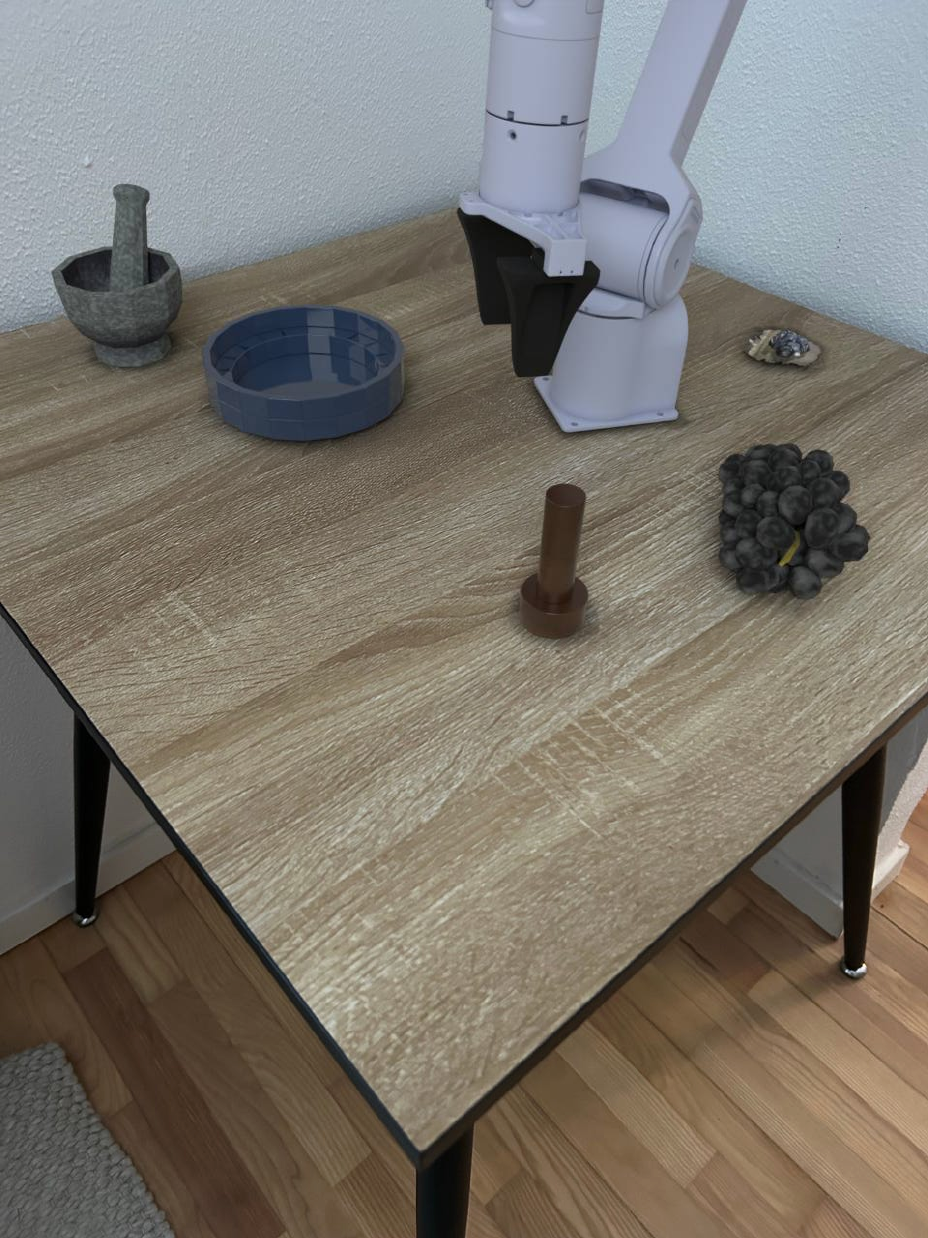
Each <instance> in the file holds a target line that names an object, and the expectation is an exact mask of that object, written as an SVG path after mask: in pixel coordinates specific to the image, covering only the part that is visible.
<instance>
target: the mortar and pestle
mask: <svg viewBox="0 0 928 1238" xmlns="http://www.w3.org/2000/svg"><path fill="white" fill-rule="evenodd" d="M112 191H113V192H112V195H113V198H114V199H115V210H114V211H115V213H114V225H113V234H112V235H113V237H112V246H111V245H110V246H101V247H98V248H97V247H96V248H94V249H90V250H87V251H83V252H80V253H76V254H73V255H69V256H67V258H65V260H63V261H62V262H61V263H60V264H58V265H57V266H56V267H55V268H54V269H53V270H52V271H51V276H52V280H53V284H54V288H55V290H56V293H57V295H58V297H59V301H60V302H61V304H62V307H63V309H64V311H65V314H66V316H67V318H68V320H69V322H70V323H71V324H72V325H73V327H75V329H76V330H77V331H78V332H79V333H80V334H81V335H82V336H84V337H86V338H87V339H90V340H91V341H92V343H93V348H94V349H93V350H94V352H95V355H96V357H97V359H98V361H99V362H100V363H104V364H106V365H108V366H109V365H110V366H113V367H115V368H133V367H144V366H147V365H149V364H153V363H154V362H157V361H160V360H163V359H164V358H165V357H166V355H167V354H168V353H169V352H170V350H172V343H171V339H170V337H169V335H168V333H167V329H169V327H170V326H171V325H172V324H173V323H174V322H175V320H176V319H178V315H179V313H180V309H181V306H182V304H183V280H182V275H181V269H180V268H181V267H180V266H179V265H178V263H177V262H176V260H175V258H174V257H173V255H172V254H171V253H170V252H166V251H163V250H159V249H156V248H152V247H148V224H147V222H148V221H147V220H148V219H147V205H148V203H149V202H150V201H151V200H150V199H151V197H150V196H151V195H150V194H151V193H150V191H149V190H147V189H146V188H144V187H142V186H140V185H136V184H132V183H118V184H116V185H114V186H113V189H112Z"/></svg>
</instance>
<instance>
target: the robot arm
mask: <svg viewBox="0 0 928 1238" xmlns="http://www.w3.org/2000/svg"><path fill="white" fill-rule="evenodd" d="M605 1H606V0H484V5H485V7H486V8H488V9H489V10H490V11H491V23H490V35H489V52H488V65H487V66H488V67H487V82H486V92H485V93H486V95H485V108H484V109H485V110H484V124H483V140H482V142H483V143H482V152H481V154H482V155H481V160H480V161H478V163H479V165H478V166H479V167H478V178H477V188H476V191H463V192H461V193H459V195H458V208H457V209H456V215H457V217H458V220H459V222H460V224H461V228H462V229H463V233H464V235H465V238H466V242H467V245H468V249H469V252H470V258H471V262H472V267H473V275H474V281H475V290H476V299H477V306H478V307H477V308H478V312H479V317H480V321H481V323H482V325H483V326H494V325H497V326H498V325H499V326H500V325H510V339H511V340H510V342H511V343H510V347H511V360H512V361H511V362H512V366H513V371H514V374H515V375H516V377H517V378H534V379H533V384H534V386H535V388H536V390H537V392H538V393H539V394H540V396H541V398H542V399H543V401H544V402H545V404H546V406H547V408H548V409H549V411H550V412H551V414H552V416H553V417H554V419H555V421H556V422H557V424H558V426H559V428H560V429H561V431H563V432H565V433H574V432H575V433H577V432H585V431H586V432H587V431H594V430H601V429H610V428H618V427H627V426H635V425H643V424H651V423H659V422H669V421H675V420H677V419H678V417H679V412H678V410H677V409H676V404H677V399H678V395H679V394H678V393H679V388H680V384H681V380H682V379H681V378H682V375H683V368H684V363H685V359H686V352H687V348H688V343H689V342H688V341H689V317H688V312H687V307H686V304H685V301H684V300H683V298H682V296H681V294H680V290H681V289H682V287H683V285H684V284H685V282H686V279H687V277H688V274H689V272H690V269H691V265H692V261H693V258H694V253H695V247H696V242H697V238H698V235H699V232H700V229H701V226H702V223H703V220H704V213H703V212H704V211H703V204H702V199H701V196H700V194H699V192H698V191H697V189H696V188H695V186H694V184H693V183H692V181H691V179H690V178H689V177H688V175H687V174H686V172H685V170H684V169H683V168H682V167H683V164H684V162H685V158H686V156H687V154H688V152H689V149H690V146H691V144H692V141H693V138H694V136H695V133H696V131H697V128H698V127H699V124H700V121H701V118H702V116H703V114H704V112H705V108H706V107H707V103H708V100H709V98H710V96H711V93H712V90H713V88H714V86H715V83H716V81H717V78H718V75H719V72H720V71H721V69H722V65H723V63H724V60H725V58H726V54H727V52H728V50H729V47H730V46H731V45H730V44H731V42H732V40H733V37H734V35H735V33H736V30H737V28H738V25H739V22H740V20H741V18H742V15H743V12H744V10H745V8H746V4H747V2H748V0H668V3H667V5H666V7H665V10H664V13H663V15H662V18H661V20H660V23H659V26H658V28H657V31H656V34H655V36H654V38H653V41H652V44H651V47H650V49H649V51H648V54H647V57H646V60H645V63H644V65H643V68H642V70H641V73H640V76H639V78H638V81H637V83H636V86H635V88H634V91H633V94H632V96H631V99H630V102H629V104H628V107H627V109H626V112H625V114H624V117H623V120H622V123H621V126H620V127H619V130H618V133H617V135H616V138H615V140H614V141H613V142H611V143H610V144H608V145H606V146H604V147H603V148H600V149H599V150H597V151H595V152H593V153H590V154H588V155H587V156H586V155H585V151H586V143H587V138H588V137H587V136H588V129H589V122H590V114H591V107H592V100H593V93H594V83H595V76H596V68H597V63H598V61H597V60H598V55H599V47H600V46H599V45H600V37H601V30H602V24H603V23H602V22H603V15H604V8H605ZM550 373H552V374H551V375H550Z"/></svg>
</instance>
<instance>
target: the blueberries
mask: <svg viewBox="0 0 928 1238" xmlns="http://www.w3.org/2000/svg"><path fill="white" fill-rule="evenodd" d="M754 337H755V340H753V339H751V338H749V344H748V345H747V346H745V347H744V349H743V352H744V353H746V354H747V355H749V356H750V357H752V358H753V359H754V360H755V361H758V362H759V361H761V360H764V361H765V363H768V364H775V363H782V365H785V364H787V365H790V364H795V365H798V366H799V367H806V366H808V367H810V366H811V365H810V364H812V363H814V362H816V360H817V358H819V356H820V354H821V353H822V350H821V348H820V346H818V345H817V344H815V343H813V342H812V341H809V340H808V339H807V338H806V337H804V336H803V335H802V334H798V333H795V332H794V331H793V330H791V329H788V328H787V329H782V330H781V329H777V330H774V329H766V330H763V331H762V334H758V337H759V338H760V339H759V338H758V337H757V336H754Z"/></svg>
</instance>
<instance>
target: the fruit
mask: <svg viewBox="0 0 928 1238" xmlns="http://www.w3.org/2000/svg"><path fill="white" fill-rule="evenodd" d="M834 467H835V462H834V458H833V456H832V455H831V454H830V452H829V451H827V450H824V449H819V448H818V449H813V450H810V451H809V452H808V453H807V454H806V455H805V457H803V452H802V450H801V449H800V447H799V446H798V444H795V443H793V442H786V443H781V444H778V445H776V444H774V443H766V444H757V445H753V446H750V447H749V448H748V449H747V450H746V451H745V452H744V454H742V453H732V454H730V455H728V456H727V457H726V458H725V460H724V462H722V463H721V464H720V465H719V468H718V472H717V478H718V481H719V482H721V483H722V494H723V498H722V501H721V504H722V509H721V510H720V512H719V514H718V516H717V518H718V521H719V525H721V528H720V530H719V538H720V540H721V542H722V544H723V546H721V547H720V549H719V553H718V557H717V558H718V561H719V563H720V565H721V566H722V567H723V568H725V569H726V570H727V571H728V572H729V571H730V572H733V573H735V574H736V577H735V582H736V584H737V588H738V589H739V590H740V591H741V592H742V593H744V594H746V595H750V596H752V595H759V594H766V593H767V592H772V593H773V594H777V593H779V592H781V591H784V590H786V589H789V591H790V592H791V593H792V594H793V596H795V598H796V599H801V600H806V601H807V600H811V599H814V598H815V597H817V596H818V595H819V594H820V593H821V591H822V589H823V583H822V579H824V580H831V579H833V578H836V577H837V576H840V575H842V573H843V571H844V568H845V563H849V562H851V563H853V562H861V560H862V559H864V557H865V555H867V554H868V553H869V543H870V541H871V535H870V534H869V531H868V530H867V527H866V526H864V525H860V524H857V523H858V513H857V512H856V511H855V509H854V508H853V507H852V506H850V505H849V503H843V502H842V500H843V499H844V498H845V497H846V496H847V495H848V493H849V492H850V491H851V480H850V478H849V477H848V474H846V473H845V472H843V471H842V470H835V469H834ZM788 566H791V567H793V568H792V569H790V567H788ZM821 578H822V579H821Z"/></svg>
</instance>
